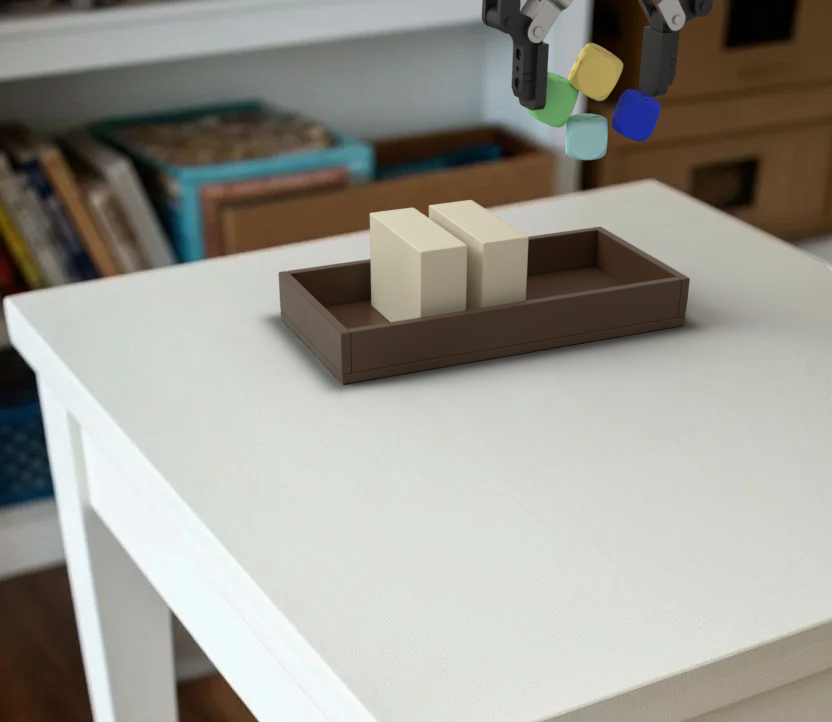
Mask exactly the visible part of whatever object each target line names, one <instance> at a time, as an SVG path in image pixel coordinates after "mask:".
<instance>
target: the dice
mask: <svg viewBox="0 0 832 722" xmlns="http://www.w3.org/2000/svg"><path fill="white" fill-rule="evenodd" d="M623 68H624V63H623V61H622V60H621V59H620V58H619V57H617V56H616V54H613V53H612V52H611V51H609V50H607V48H604V47H602V46H601V45H599V44H597V43H595V42H589V43H586V44H585V45H584V46H583V48H582V49H581V51H580V52H579V54H578V55H577V57H576V59H575V61H574V63H573V65H572V67H571V69H570V72H569V75H568V78H566V77H564V76H562V75H561V74H558V73H555V72H552V71H548V72H547V91H546V105H545V108H544V109H542V110H533V111H532V110H529V109H527V108H526V112H527V113H528V114H529V115H530V116H531V117H532V118H534V119H536V120H537V121H538V122H541V123H543V124H545V125H547V126H550V127H553V128H557V129H558V128H563V127H564V126H565V131H564V132H565V133H564V134H565V136H564V153H565V156H567V157H568V158H571V159H574V160H580V161H594V160H599V159H601V158H603V157H604V156H605V155H606V153H607V148H608V137H609V136H608V135H609V129H608V127H609V124H608V118H606V117H605V116H603V115H600V114H596V113H576V114H572V113H573V111H574V109H575V106H576V104H577V101H578V97H579V94H580V93H582V94H583V95H584V96H587V97H588V98H590V99H593V100H594V101H597V102H602V101H605V100H606V99H607V98H608V97H609V96H610V94H611V93H612V91H613V90H614V88H615V86H616V85H617V83H618V81H619V79H620V77H621V74H622V72H623V70H624V69H623ZM620 95H621V96H620V97H619V99H618V102H617V104H616V106H615V109H614V112H613V116H612V120H611V127H612V129H613V130H614V131H615V132H616V133H618V134H620V135H621V136H623V137H625V138H627V139H630V140H632V141H636V142H640V143H641V142H645V141H647V140H649V138H651V135H652V134H653V132H654V130H655V128H656V126H657V123H658V120H659V117H660V113H661V103H660V102H659V100H657V99H656V98H655V97H652V96H650V95H647V94H645V93H643V92H641V90H637V89H633V88H628V89H625V90H624V91H623V92H622V94H620Z"/></svg>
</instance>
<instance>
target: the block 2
mask: <svg viewBox="0 0 832 722" xmlns="http://www.w3.org/2000/svg"><path fill="white" fill-rule="evenodd" d="M428 218H429V219H431V220H432V221H433V222H435V223H436V224H438V225H439V226H441V227H442V228H443V229H445V230H446V231H448V232H449V233H450V234H452V235H453V236H455V237H456V238H457V239H459V240H460V241H462V242H463V243H465V244H466V245H467V282H466V310H470V309H477V308H483V307H489V306H496V305H502V304H508V303H514V302H521V301H526V283H527V261H528V239H529V238H528V237H529V236H528V235H527V234H525V233H524V232H522V231H520V230H519V229H517V228H516V227H514V226H513V225H511V224H510V223H508V222H506V221H505V220H504V219H502V218H500V217H499V216H497V215H496V214H495V213H492V212H491V211H490V210H488V209H486V208H485V207H483V206H482V205H480V204H479V203H477V202H476V201H474V200H472V199H468V200H467V199H466V200H458V201H452V202H444V203H436V204H429V205H428Z"/></svg>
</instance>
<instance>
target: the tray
mask: <svg viewBox="0 0 832 722" xmlns="http://www.w3.org/2000/svg"><path fill="white" fill-rule="evenodd" d="M528 238H529V239H528V261H527V283H526V301H521V302H514V303H508V304H502V305H496V306H489V307H483V308H477V309H470V310H464V311H458V312H451V313H445V314H439V315H432V316H426V317H420V318H414V319H407V320H401V321H395V322H389V321H388V320H387V319H386V318H385V317H384V316H383V315H382V314H381V313H379V312H378V311H377V310H376V309H375V308H374V307H373V306H372V305H371V258H368V259H361V260H353V261H346V262H340V263H332V264H325V265H318V266H311V267H305V268H297V269H290V270H283V271H279V272H278V289H279V290H278V291H279V307H280V309H279V310H280V319H281V320H282V322H283V323H285V324H286V326H287V327H288V328H289V329H290V330H291V331H292V332H293V333H294V334H295V335H296V336H297V337H298V338H299V340H300V341H301V342H302V343H303V344H304V345H305V346H306V347H307V348H308V349H309V350H310V351H311V352H312V353H313V354H314V355H315V356H316V357H317V359H319V361H320V362H321V363H322V364H323V365H324V366H325V367H326V368H327V369H328V370H329V371H330V372H331V374H333V375H334V377H335V378H336V379H337V380H338V381H339V382H340V383H341V384H343V385H347V384H351V383H357V382H363V381H369V380H375V379H380V378H387V377H392V376H398V375H404V374H409V373H415V372H421V371H428V370H433V369H439V368H445V367H450V366H455V365H456V366H457V365H461V364H468V363H473V362H480V361H485V360H490V359H491V360H492V359H497V358H501V357H508V356H513V355H519V354H524V353H531V352H536V351H542V350H549V349H554V348H555V349H556V348H560V347H565V346H572V345H578V344H583V343H589V342H595V341H601V340H607V339H613V338H617V337H618V338H619V337H624V336H629V335H635V334H642V333H647V332H653V331H659V330H665V329H669V328H670V329H671V328H678V327H683V326H685V324H686V316H687V308H688V299H689V291H690V290H689V288H690V280H691V278H690V277H688V276H687V275H685V274H683V273H681V272H680V271H678V270H676V269H675V268H673V267H671V266H669V265H668V264H666V263H665V262H662V261H661V260H660V259H657V258H656V257H654V256H652V255H650V254H649V253H647V252H646V251H644V250H642V249H640V248H639V247H637V246H635V245H633V243H630V242H628V241H626V240H625V239H623V238H622V237H620V236H618V235H616V234H614V233H613V232H611V231H609V230H608V229H606V228H604V227H602V226H594V227H586V228H580V229H573V230H565V231H559V232H551V233H545V234H537V235H530V236H528Z"/></svg>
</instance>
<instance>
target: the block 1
mask: <svg viewBox="0 0 832 722" xmlns="http://www.w3.org/2000/svg"><path fill="white" fill-rule="evenodd" d="M369 241H370V242H369V245H370V249H369V250H370V252H369V253H370V259H371V305H372V306H373V307H374V308H375V309H376V310H377V311H378V312H379V313H381V314H382V315H383V316H384V317H385V318H386V319H387V320H388V321H389V322H395V321H401V320H407V319H414V318H420V317H426V316H432V315H439V314H445V313H451V312H458V311H464V310H466V282H467V245H466V244H465V243H463V242H462V241H460V240H459V239H457V238H456V237H455V236H453V235H452V234H450V233H449V232H448V231H446V230H445V229H443V228H442V227H441V226H439V225H438V224H436V223H435V222H433V221H432V220H431V219H429V216H427V215H425V214H423V213H422V212H421V211H420V210H418V209H416V208H415V207H413V206H412V207H405V208H398V209H390V210H382V211H375V212H370V213H369Z"/></svg>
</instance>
